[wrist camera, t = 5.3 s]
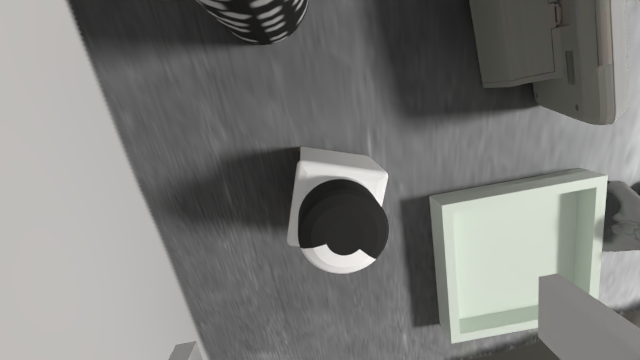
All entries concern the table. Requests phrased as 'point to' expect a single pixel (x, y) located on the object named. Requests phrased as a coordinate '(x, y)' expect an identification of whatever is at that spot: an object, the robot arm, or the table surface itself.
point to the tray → (514, 248)
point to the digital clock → (557, 53)
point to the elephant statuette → (624, 220)
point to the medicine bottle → (338, 209)
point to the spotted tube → (258, 18)
